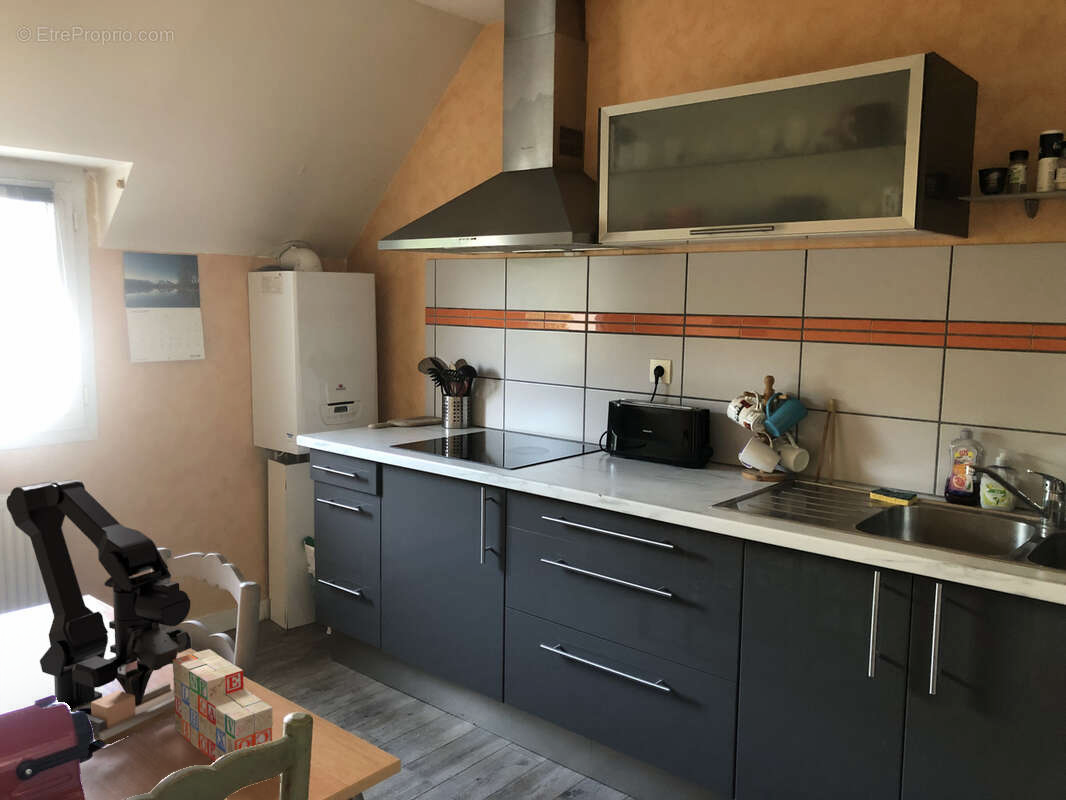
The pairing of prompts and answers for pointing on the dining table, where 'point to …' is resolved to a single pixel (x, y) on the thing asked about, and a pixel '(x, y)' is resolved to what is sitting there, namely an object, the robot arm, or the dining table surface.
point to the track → (138, 715)
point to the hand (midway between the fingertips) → (136, 704)
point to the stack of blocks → (217, 705)
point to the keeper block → (114, 708)
